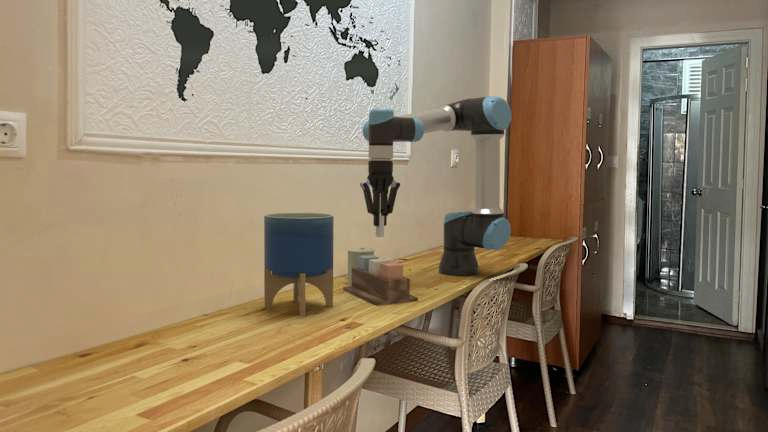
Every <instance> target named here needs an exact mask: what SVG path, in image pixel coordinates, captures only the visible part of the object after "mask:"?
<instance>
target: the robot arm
mask: <svg viewBox="0 0 768 432" xmlns="http://www.w3.org/2000/svg"><path fill="white" fill-rule="evenodd" d="M511 123H512V110H511V106H510V105H509V104H508V102H507V100H505V99H504V98H503V97H501V96H491V95H490V96H483V97H481V96H480V97H474V98H465V99H461V100H457V101H455V102H451V103H449V104H448V103H447V104H442V105H440V107H438V108H436V109H430V110H424V111H418V112H413V113H408V114H402V115H396V116H395V115H394V110H393V108H392V109H391V108H372V109H370V110H369V114H368V120H367V121H366V122H365V123H364V124H363V127H362V134H363V135H362V136H363V137H364V139H365V140H366V141H367V142H368V159H369V160H368V161H367V163H368V165H367V167H368V168H367V170H368V171H367V172H368V176H367V178H366V180H365V181H363V182H360V183H359V185H360V187H361V189H362V192H363V196H364V200H365V205H366V211H367V214H371V215H372V216H373V220H372V221H373V226H374V227H375V237H377V238H384V237H385V227H386V226H387V221H388V220H387V218H388V216H389V215H390V214H392V213H393V210H394V206H395V202H396V198H397V194H398V190H399V188H400V187H401V183H400V182H397V181H396V180H394V176H393V173H394V172H393V171H394V162H393V159H394V143H397V142H398V143H400V142H401V143H402V142H403V143H404V142H405V143H414V142H415V143H416V142H419V141H421V139H423V137H424V134H428V133H433V132H437V131H443V132H452V131H465V132H470V136H471V137H472V138H473V139H474V140H475V208H473V210H471V211H457V212H447V213H446V214H445V216H444V220H443V253H442V255H441V258H440V261H439V263H438V272H439V273H440V274H444V275H449V276H473V275H478V274H479V270H480V269H479V263H478V261H477V256H476V254H475V248H478V249H485V250H487V251H491V250H493V251H497V250H501V249H502V248H503V247H505V246H506V245H507V243H508V241H509V240H510V237H511V231H512V229H511V228H512V227H511V223H510V220H508V219H507V218H505V211H504V210H503V209H502V208H501V201H500V199H501V197H500V196H501V195H500V194H501V193H500V192H501V183H500V182H501V168H500V167H501V139H502V138H504V136H505V131H506V130H507V129H508V128H509V127H510V125H511ZM370 187H371V188H372V192H371V188H370ZM389 188H390V190H389Z"/></svg>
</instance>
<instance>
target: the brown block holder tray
mask: <svg viewBox="0 0 768 432" xmlns="http://www.w3.org/2000/svg"><path fill="white" fill-rule="evenodd" d="M410 281H411V278H409V277H406V276H403V279H392V280H386V279H383V278H381V277H380V275H373V274H370V273H369V271H362V270H359V269H358V267H357V268H352V285H350V286H347V285H346V286H342V289H343V291H345V292H347V293H349V294H351V295H353V296H355V297H358V298H359V299H362V300H364V301H366V302H368V303H370V304H372V305H375V306H383V305H393V304H394V305H395V304H403V303H411V302H413V303H414V302H418V301H419V297H418V296H415V295H412V294H410V290H411V289H410V285H411V284H410Z"/></svg>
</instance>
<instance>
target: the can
mask: <svg viewBox="0 0 768 432" xmlns="http://www.w3.org/2000/svg"><path fill="white" fill-rule="evenodd" d="M366 255H373V256H375V249H374V248H368V247H354V248H348V249H347V282H346V283H347V284H348V285H350V286H352V268H357V267H358V256H366Z"/></svg>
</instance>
